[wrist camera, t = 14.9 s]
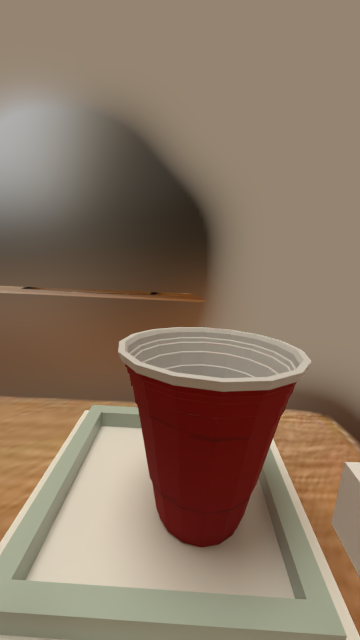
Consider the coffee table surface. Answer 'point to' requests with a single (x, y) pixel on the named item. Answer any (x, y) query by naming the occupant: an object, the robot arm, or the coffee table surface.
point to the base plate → (157, 555)
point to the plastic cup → (208, 420)
